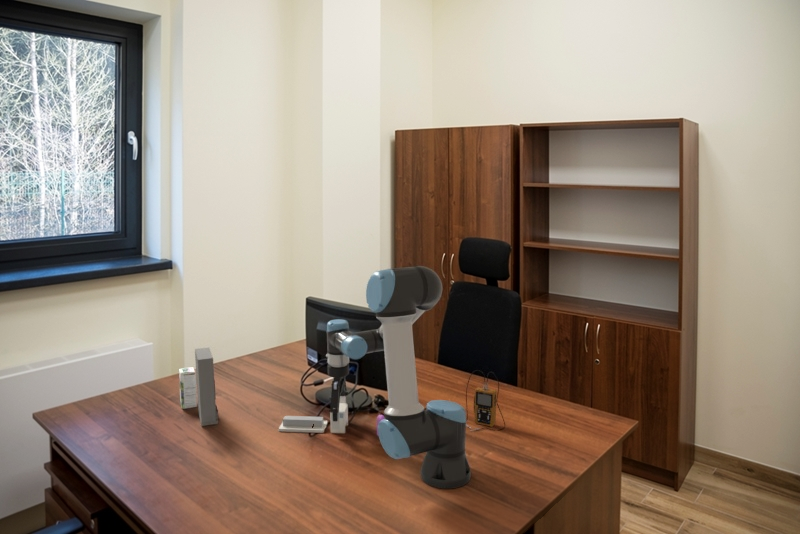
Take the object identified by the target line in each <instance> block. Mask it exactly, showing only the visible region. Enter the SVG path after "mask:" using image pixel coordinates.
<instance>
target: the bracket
mask: <svg viewBox="0 0 800 534" xmlns="http://www.w3.org/2000/svg"><path fill="white" fill-rule="evenodd" d="M382 419H385V414H384V415H383V414H378V415H377V417H376V436H377V437H379V435H378V425H379V422H380V421H381V420H382Z"/></svg>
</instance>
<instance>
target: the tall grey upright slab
mask: <svg viewBox="0 0 800 534" xmlns="http://www.w3.org/2000/svg"><path fill="white" fill-rule="evenodd" d="M194 359H195V374H196V394H197V407H198V408H197V412H198V416H199V417H198V418H199V423H200V426H201V427H205V426H213V425H218V424H219V409H218V407H217V404H216V403H217V402H216V400H217V398H216V383H215V382H216V380H215V369H214V358H213V354H212V351H211V349H210V347H203V348H201V347H200V348H194Z"/></svg>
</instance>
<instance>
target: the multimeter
mask: <svg viewBox="0 0 800 534" xmlns="http://www.w3.org/2000/svg"><path fill="white" fill-rule="evenodd" d="M477 371H478V372H480V373H482V374H483V378H484V379H483V387H479V386H478V387H476V388H475V390H474V397H473V414H474V423H475V425H483V426H488V427H486V429H488V430H489V431H490V430H491V431H494V429H492V428H493V427H494V426H495V425H496V422H497V421H496V419H497V418H496V417H497V408H498V410H499V412H500V415H501V417H502V420H503V424H504V426H503V428H501V429H499V431H501V430H504V429H505V428H506V423H505V419H504V415H503V413H502V411H501V409H500V407H499V404H498V398H499V397H498V396H499V393H500V392H499V391H500V382H499V378H498V376H496V374H495V373H494V372H493V371H489V372H488V373H487V375H485V373H484V371H482V370H478V369H476V370H474V371H472V372H471V373H470V375H469V377H468V380H467V381H468V382H467V384H466V390H465V403H466V408H468V401H467V400H468V399H467V397H468V396H467V393H468V386H469V382H470V380H471V377H472V375H473V374H474V373H475V372H477ZM491 373H492V374H493V375H494V377H495V379H496V380H497V385H498V387H497V390H495V389H489V383H488V381H489V380H488V378H489V374H491ZM468 417H469V415H468V411H466V422H468ZM489 427H491V428H489ZM466 428H468V429H469V431H470V432H471V431H472V432H473V431H474V432H475V431H478V430H479V431H480V430H483V429H485V427H482V428H481V427H480V428H479V427H478V428H474V429H473V428H472V427H471V426H470V425H468V424H467V423H466ZM470 429H471V430H470Z"/></svg>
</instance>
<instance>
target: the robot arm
mask: <svg viewBox="0 0 800 534" xmlns="http://www.w3.org/2000/svg"><path fill="white" fill-rule="evenodd" d="M365 289H366V290H365V299H366V303H367V304H368V305H367V306H368V308H369V309H370V311H371V312H373V313H375V317H376V319H377V320H378V321H380V323H381V325H380V326H379V327H378V328H377V329H369V330H363V331H358V332H352V331H350V326H349V324H350V323H349V322H348V320H346V319H341V318H340V319H331V320H329V321H327V323H326V343H327V345H326V346H327V347H326V348H327V349H326V350H327V352H326V354H325V357H326V358H327V375H328V376H329V377H331V378H333V379H332V381H331V394H330V395H331V397H330V409H328V413H330V412H331V417H332V429H338V430H339V429H340V411H339V404H340V403H347V396H348V395H349V392H348V390H347V381H346V380H347V379H346V377H347V376H349V374H350V364H349V363H350V359H352V360H360V359H361V358H363V357H364V356H365V355H366V354H370V353H371V354H372V353H376V352H384V353H383V354H384V363H385V364H384V365H385V376H386V386H387V397H388V398H387V399H388V405H387V407H386V408H385V409H384V411H383V413H384V419H382V420H381V421H380V422H379V425H378V435H379V436H378V439H379V441H380V444H381V446H382V448H383V450H384V452H385V453H386V454H387V455H388V457H391V458H392V459H394V460H399V459H400V460H401V459H407V458H410V457H413V456H416V455H420V454H425V455H424V458H423V461H422V463H421V467H420V479H421V480H422V481H423V482H424V483H425V484H426V485H429V486H431V487H433V488H436V489H437V488H438V489H444V490H445V489H446V490H447V489H456V488H460V487H463V486H465V485H467V484H468V483H469V482H470V480H471V467H470V464H469V461H468V460H469V459H468V457H467V454H466V435H467V434H466V433H467V429H466V428H467V426H466V424H467V421H466V420H467V411H466V409H465V407H463V406H462V405H461V404H459V403H457V402H454V401H453V400H452V401H450V400H447V399H445V400H444V399H432V400H429V401H428V402H427V403H426V406H423V404H421V403H420V401H419V393H418V380H417V371H416V370H417V369H416V368H417V367H416V359H415V358H416V357H415V346H414V333H413V324H414V323H416V321H417V320H418V319H419V318H420V317H421V316H422V315H423V314H424V313H425V312H427V311H429V310H432V309H433V308H435V306H436V305H437V303H438V302H439V301H440V300H441V298H442V294H443V283H442V280H441V278H440V276H439V275H438V273H436V271H434V270H433V269H431V268H429V267H427V266H423V265H417V266H416V265H415V266H409V267H398V268H386V269H382V270H381V269H380V270H376V271H375V272H373V273H372V274H371V275H370V277H369V279H368V282H367V284H366V288H365ZM425 407H426V409H425ZM333 408H335V409H333Z"/></svg>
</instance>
